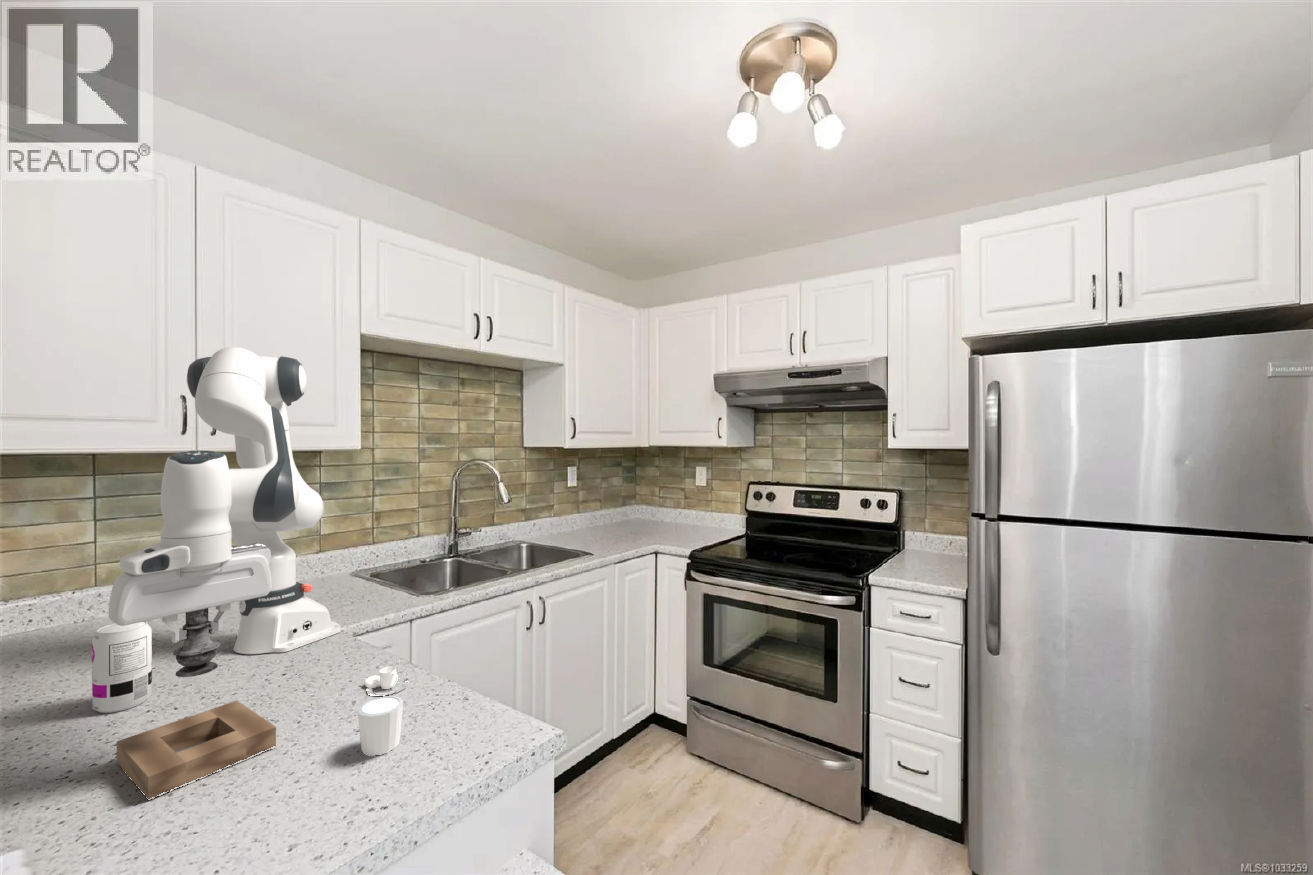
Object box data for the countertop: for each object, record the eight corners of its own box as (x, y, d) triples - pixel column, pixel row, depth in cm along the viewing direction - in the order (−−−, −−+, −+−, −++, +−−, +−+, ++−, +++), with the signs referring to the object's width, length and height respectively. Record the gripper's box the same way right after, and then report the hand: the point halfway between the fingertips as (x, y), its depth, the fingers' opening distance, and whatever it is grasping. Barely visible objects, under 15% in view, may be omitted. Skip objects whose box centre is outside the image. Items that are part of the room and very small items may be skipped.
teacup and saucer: (359, 688, 114) (359, 668, 113) (399, 676, 119) (399, 657, 119) (373, 703, 107) (373, 682, 107) (414, 689, 113) (414, 670, 113)
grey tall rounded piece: (193, 679, 85) (193, 602, 85) (162, 676, 87) (162, 600, 86) (229, 664, 91) (229, 592, 91) (200, 661, 92) (200, 590, 92)
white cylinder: (391, 730, 97) (391, 691, 97) (410, 745, 92) (410, 703, 92) (350, 748, 91) (350, 706, 91) (368, 764, 87) (368, 720, 87)
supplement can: (80, 717, 101) (80, 636, 101) (111, 696, 109) (111, 621, 109) (134, 711, 103) (134, 632, 103) (161, 691, 111) (160, 617, 111)
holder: (237, 719, 100) (237, 700, 100) (276, 747, 91) (275, 726, 91) (116, 763, 87) (116, 741, 87) (148, 801, 78) (148, 777, 78)
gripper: (262, 539, 99) (262, 615, 99) (105, 560, 82) (105, 652, 82) (278, 543, 96) (278, 622, 96) (117, 566, 79) (117, 662, 79)
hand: (197, 636), depth 89 cm, fingers closed on grey tall rounded piece, 3 cm apart
